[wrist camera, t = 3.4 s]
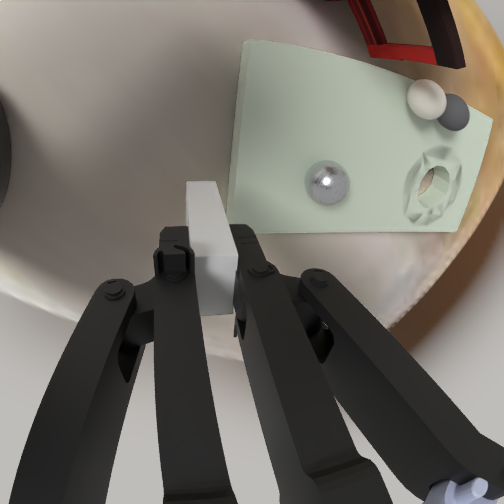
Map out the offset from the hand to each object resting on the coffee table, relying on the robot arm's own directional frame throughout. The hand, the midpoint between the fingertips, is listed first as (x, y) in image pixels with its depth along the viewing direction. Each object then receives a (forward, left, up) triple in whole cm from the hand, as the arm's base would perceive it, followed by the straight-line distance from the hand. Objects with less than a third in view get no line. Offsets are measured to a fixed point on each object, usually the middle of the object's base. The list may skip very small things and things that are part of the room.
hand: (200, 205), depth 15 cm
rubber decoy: (+19, +8, -3) cm, 21 cm away
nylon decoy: (+16, +8, -3) cm, 18 cm away
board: (+16, +2, -7) cm, 17 cm away
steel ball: (+9, 0, -3) cm, 9 cm away
